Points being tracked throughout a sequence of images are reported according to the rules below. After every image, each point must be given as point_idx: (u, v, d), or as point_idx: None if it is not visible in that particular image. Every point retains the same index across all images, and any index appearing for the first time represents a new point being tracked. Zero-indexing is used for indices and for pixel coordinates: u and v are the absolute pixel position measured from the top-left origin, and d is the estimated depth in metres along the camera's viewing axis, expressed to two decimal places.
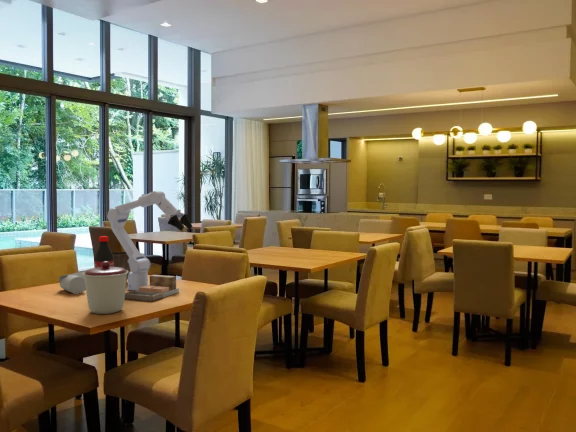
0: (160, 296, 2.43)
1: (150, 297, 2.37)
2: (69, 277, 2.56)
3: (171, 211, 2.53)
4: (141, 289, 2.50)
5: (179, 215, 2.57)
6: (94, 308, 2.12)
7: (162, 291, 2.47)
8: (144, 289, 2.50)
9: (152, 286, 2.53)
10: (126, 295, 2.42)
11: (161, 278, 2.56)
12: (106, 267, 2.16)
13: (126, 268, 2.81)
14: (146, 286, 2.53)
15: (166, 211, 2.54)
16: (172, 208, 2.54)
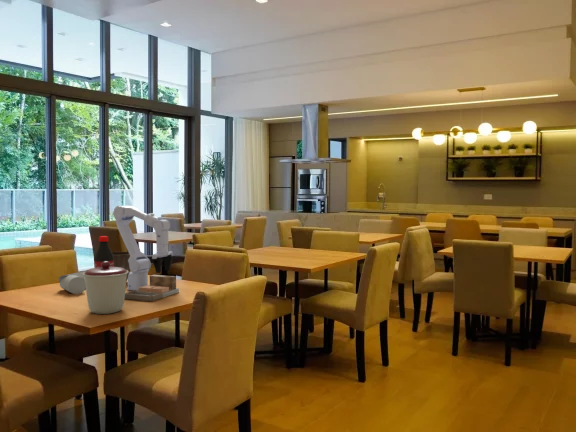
0: (160, 296, 2.43)
1: (150, 297, 2.37)
2: (69, 277, 2.56)
3: (162, 250, 2.54)
4: (141, 289, 2.50)
5: (166, 254, 2.59)
6: (94, 308, 2.12)
7: (162, 291, 2.47)
8: (144, 289, 2.50)
9: (152, 286, 2.53)
10: (126, 295, 2.42)
11: (161, 278, 2.56)
12: (106, 267, 2.16)
13: (126, 268, 2.81)
14: (146, 286, 2.53)
15: (158, 246, 2.55)
16: (165, 248, 2.55)
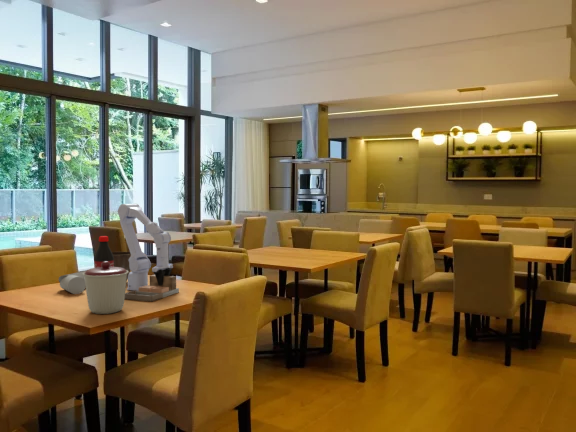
0: (160, 296, 2.43)
1: (150, 297, 2.37)
2: (69, 277, 2.56)
3: (162, 263, 2.55)
4: (141, 289, 2.50)
5: None
6: (94, 308, 2.12)
7: (162, 291, 2.47)
8: (144, 289, 2.50)
9: (152, 286, 2.53)
10: (126, 295, 2.42)
11: None
12: (106, 267, 2.16)
13: (126, 268, 2.81)
14: (146, 286, 2.53)
15: (158, 259, 2.55)
16: (165, 261, 2.55)
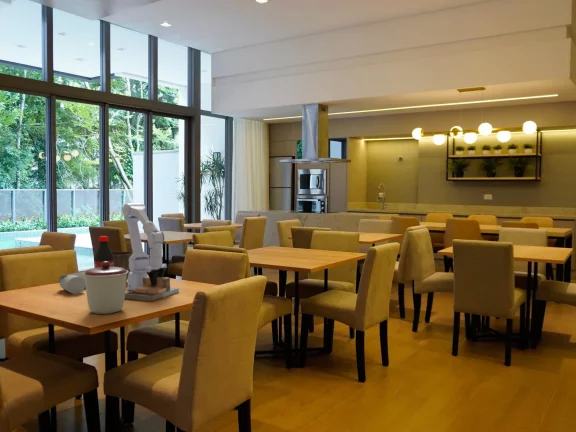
0: (160, 296, 2.43)
1: (150, 297, 2.37)
2: (68, 277, 2.56)
3: (155, 263, 2.50)
4: (138, 290, 2.48)
5: (160, 267, 2.54)
6: (94, 308, 2.12)
7: (159, 292, 2.45)
8: (141, 290, 2.47)
9: (149, 287, 2.51)
10: (126, 295, 2.42)
11: None
12: (106, 267, 2.16)
13: (126, 268, 2.81)
14: (143, 287, 2.51)
15: (152, 259, 2.50)
16: (158, 261, 2.50)
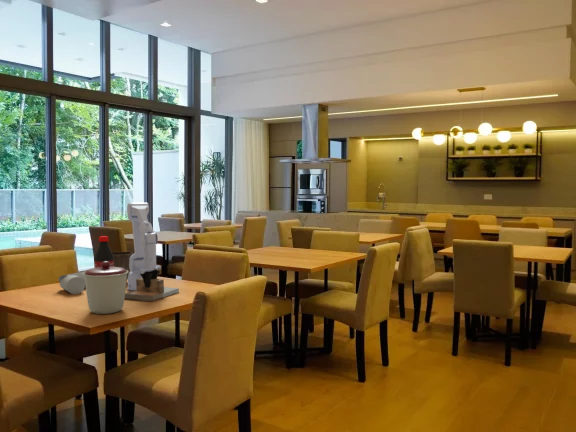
0: (160, 296, 2.43)
1: (150, 297, 2.37)
2: (68, 277, 2.56)
3: (149, 265, 2.45)
4: None
5: None
6: (94, 308, 2.12)
7: None
8: None
9: (143, 292, 2.46)
10: (126, 295, 2.42)
11: None
12: (106, 267, 2.16)
13: (126, 268, 2.81)
14: (136, 292, 2.46)
15: (145, 260, 2.45)
16: (152, 262, 2.46)
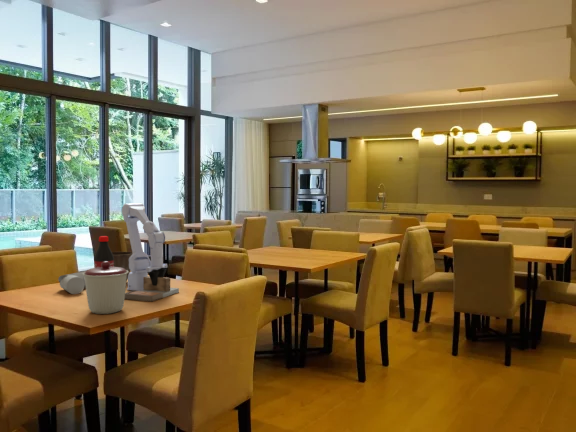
0: (160, 296, 2.43)
1: (150, 297, 2.37)
2: (68, 277, 2.56)
3: (156, 263, 2.50)
4: None
5: None
6: (94, 308, 2.12)
7: None
8: None
9: (143, 292, 2.46)
10: (126, 295, 2.42)
11: None
12: (106, 267, 2.16)
13: (126, 268, 2.81)
14: (136, 292, 2.46)
15: (152, 259, 2.51)
16: (159, 261, 2.51)
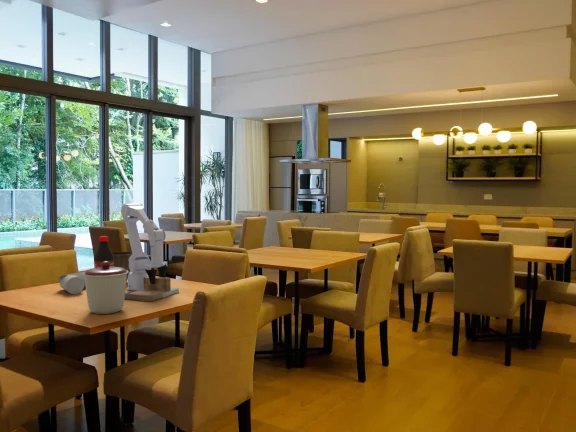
0: (160, 296, 2.43)
1: (150, 297, 2.37)
2: (67, 277, 2.56)
3: (156, 261, 2.51)
4: None
5: None
6: (94, 308, 2.12)
7: None
8: None
9: (143, 292, 2.46)
10: (126, 295, 2.42)
11: (155, 280, 2.52)
12: (106, 267, 2.16)
13: (126, 268, 2.81)
14: (136, 292, 2.46)
15: (153, 257, 2.51)
16: (159, 259, 2.51)
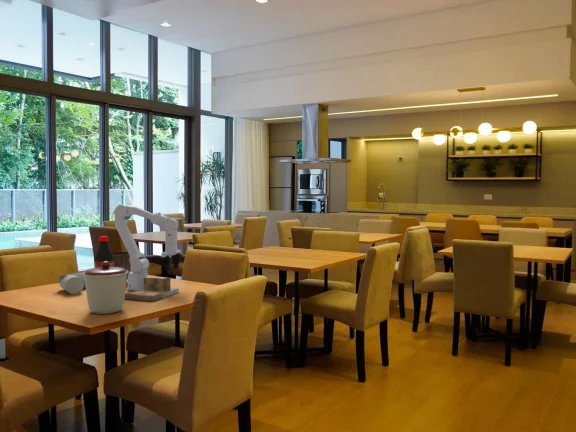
0: (160, 296, 2.43)
1: (150, 297, 2.37)
2: (67, 277, 2.56)
3: (171, 249, 2.59)
4: None
5: None
6: (94, 308, 2.12)
7: None
8: None
9: (143, 292, 2.46)
10: (126, 295, 2.42)
11: (155, 280, 2.52)
12: (106, 267, 2.16)
13: (126, 268, 2.81)
14: (136, 292, 2.46)
15: (167, 245, 2.59)
16: (174, 247, 2.60)
